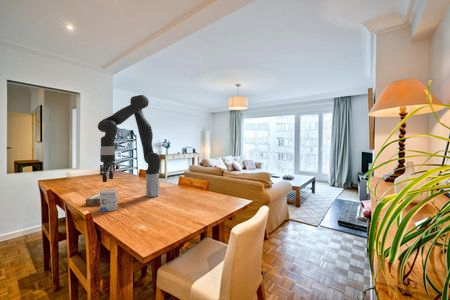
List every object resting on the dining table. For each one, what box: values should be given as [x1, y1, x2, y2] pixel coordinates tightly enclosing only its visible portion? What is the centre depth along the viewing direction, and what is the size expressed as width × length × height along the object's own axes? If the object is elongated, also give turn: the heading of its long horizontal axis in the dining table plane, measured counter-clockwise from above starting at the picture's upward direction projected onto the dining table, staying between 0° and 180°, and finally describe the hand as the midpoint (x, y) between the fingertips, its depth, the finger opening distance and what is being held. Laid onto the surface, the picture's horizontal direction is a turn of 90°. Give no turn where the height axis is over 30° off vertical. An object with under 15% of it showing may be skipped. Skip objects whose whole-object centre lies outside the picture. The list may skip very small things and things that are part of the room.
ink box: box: [99, 189, 118, 213], centre depth 115 cm, size 9×5×12 cm, turn 112°
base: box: [85, 193, 100, 206], centre depth 130 cm, size 13×13×4 cm
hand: (108, 180), depth 115 cm, fingers open, 8 cm apart
